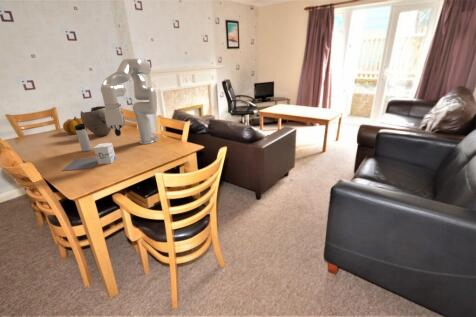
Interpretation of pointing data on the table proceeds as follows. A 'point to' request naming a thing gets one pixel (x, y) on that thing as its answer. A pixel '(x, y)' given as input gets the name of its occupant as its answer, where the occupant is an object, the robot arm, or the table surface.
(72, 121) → the decorative pumpkin
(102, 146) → the ink box
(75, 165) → the rubber mat
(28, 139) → the table surface
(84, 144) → the travel mug
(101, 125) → the clay pot
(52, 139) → the table surface
